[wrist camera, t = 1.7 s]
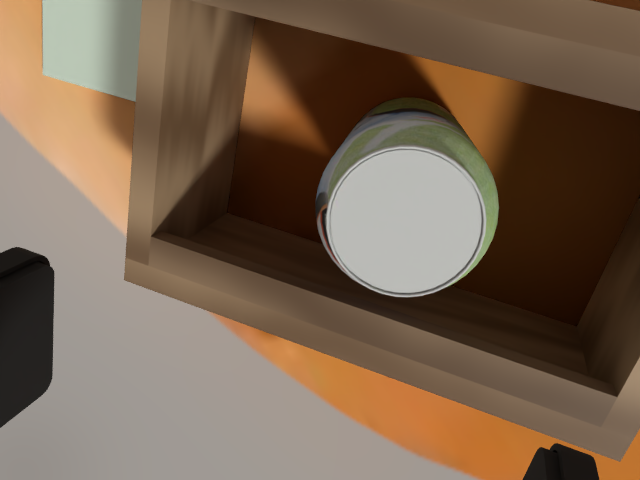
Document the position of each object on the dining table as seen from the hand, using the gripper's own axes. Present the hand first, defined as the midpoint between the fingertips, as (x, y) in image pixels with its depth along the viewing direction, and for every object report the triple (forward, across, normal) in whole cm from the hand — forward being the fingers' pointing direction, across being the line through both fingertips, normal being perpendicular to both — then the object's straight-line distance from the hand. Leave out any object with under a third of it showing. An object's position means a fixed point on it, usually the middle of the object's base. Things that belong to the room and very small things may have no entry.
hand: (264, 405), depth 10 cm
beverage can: (+20, 0, -1) cm, 20 cm away
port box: (+20, 0, -1) cm, 20 cm away
